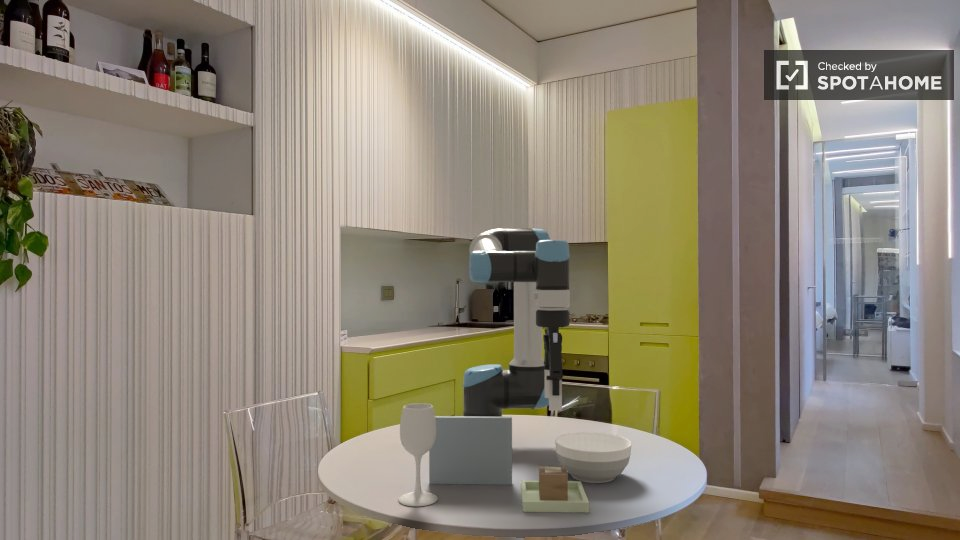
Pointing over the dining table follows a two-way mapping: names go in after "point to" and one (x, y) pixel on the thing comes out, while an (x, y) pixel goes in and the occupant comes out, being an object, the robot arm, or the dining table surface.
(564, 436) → the bowl
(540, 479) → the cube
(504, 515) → the dining table surface
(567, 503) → the tray
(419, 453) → the wineglass
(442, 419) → the screen
